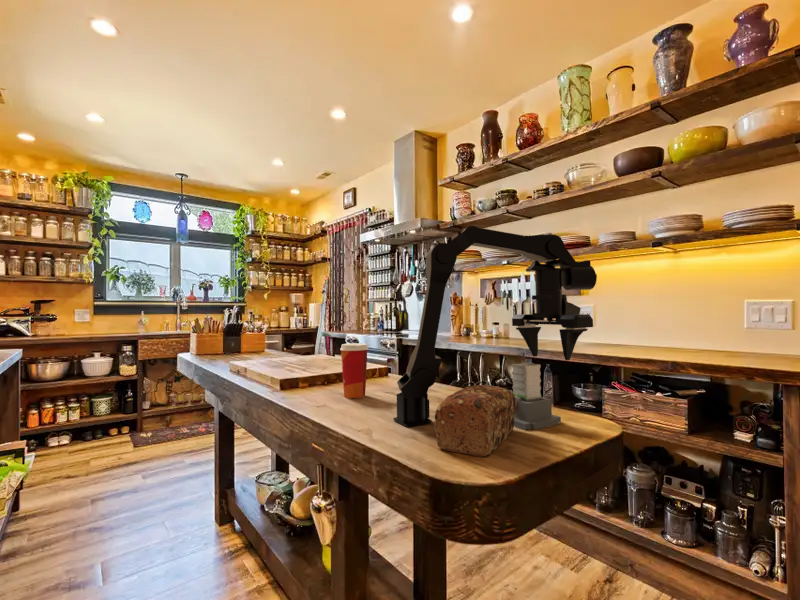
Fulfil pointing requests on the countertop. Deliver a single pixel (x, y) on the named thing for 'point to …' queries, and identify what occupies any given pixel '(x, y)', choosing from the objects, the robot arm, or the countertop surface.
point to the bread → (475, 419)
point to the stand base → (534, 414)
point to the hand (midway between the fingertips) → (550, 358)
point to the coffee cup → (354, 369)
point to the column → (526, 381)
